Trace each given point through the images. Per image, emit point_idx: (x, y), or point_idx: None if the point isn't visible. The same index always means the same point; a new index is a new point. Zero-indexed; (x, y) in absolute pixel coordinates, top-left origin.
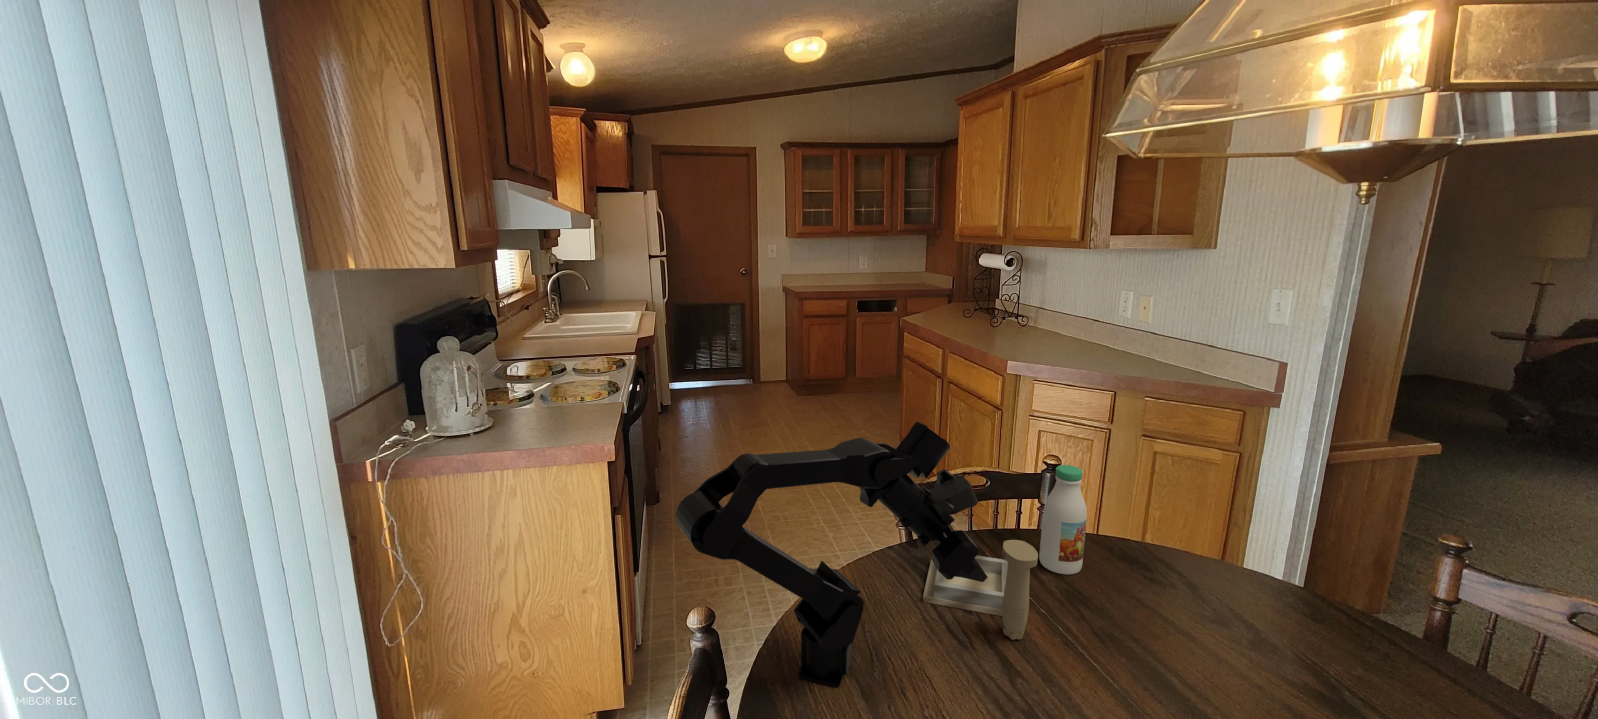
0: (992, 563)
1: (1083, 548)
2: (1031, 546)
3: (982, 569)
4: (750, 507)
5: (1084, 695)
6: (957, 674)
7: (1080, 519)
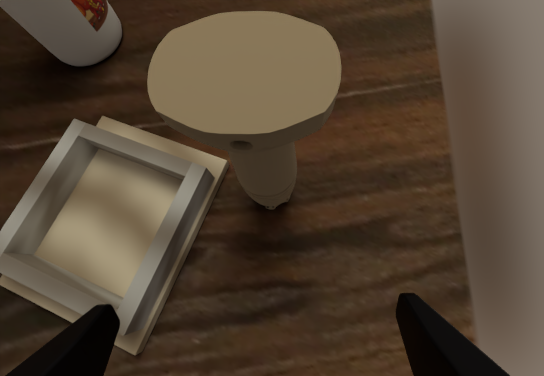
0: (71, 155)
1: None
2: (219, 17)
3: (483, 353)
4: None
5: (425, 138)
6: (387, 350)
7: None
